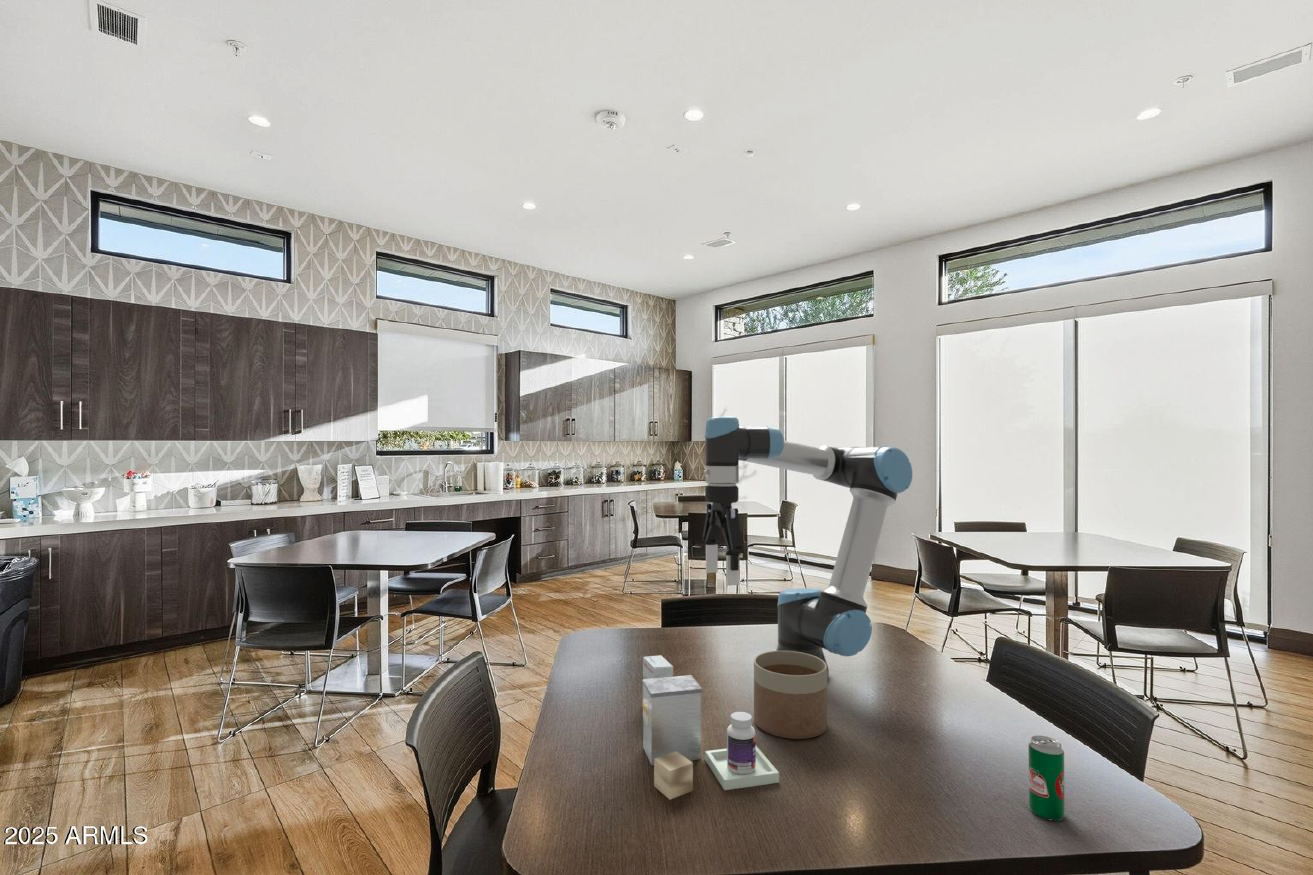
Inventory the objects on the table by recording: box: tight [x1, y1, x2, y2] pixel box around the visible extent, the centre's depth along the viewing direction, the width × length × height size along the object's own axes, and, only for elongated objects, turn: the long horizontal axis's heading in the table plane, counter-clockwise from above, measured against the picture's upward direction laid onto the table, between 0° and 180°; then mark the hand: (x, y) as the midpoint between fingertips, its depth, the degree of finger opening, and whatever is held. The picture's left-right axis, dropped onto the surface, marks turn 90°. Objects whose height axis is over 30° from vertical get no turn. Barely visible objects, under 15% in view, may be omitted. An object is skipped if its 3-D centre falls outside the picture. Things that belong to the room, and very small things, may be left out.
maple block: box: [653, 751, 694, 800], centre depth 107 cm, size 5×5×5 cm
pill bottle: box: [726, 711, 757, 774], centre depth 113 cm, size 5×5×10 cm
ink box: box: [642, 654, 674, 700], centre depth 139 cm, size 9×5×12 cm, turn 20°
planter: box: [753, 650, 828, 740], centre depth 133 cm, size 16×16×14 cm
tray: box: [704, 745, 780, 791], centre depth 113 cm, size 11×11×2 cm
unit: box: [641, 674, 703, 766], centre depth 120 cm, size 11×7×14 cm
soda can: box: [1027, 735, 1066, 821], centre depth 101 cm, size 5×5×12 cm
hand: (721, 578), depth 136 cm, fingers open, 13 cm apart
